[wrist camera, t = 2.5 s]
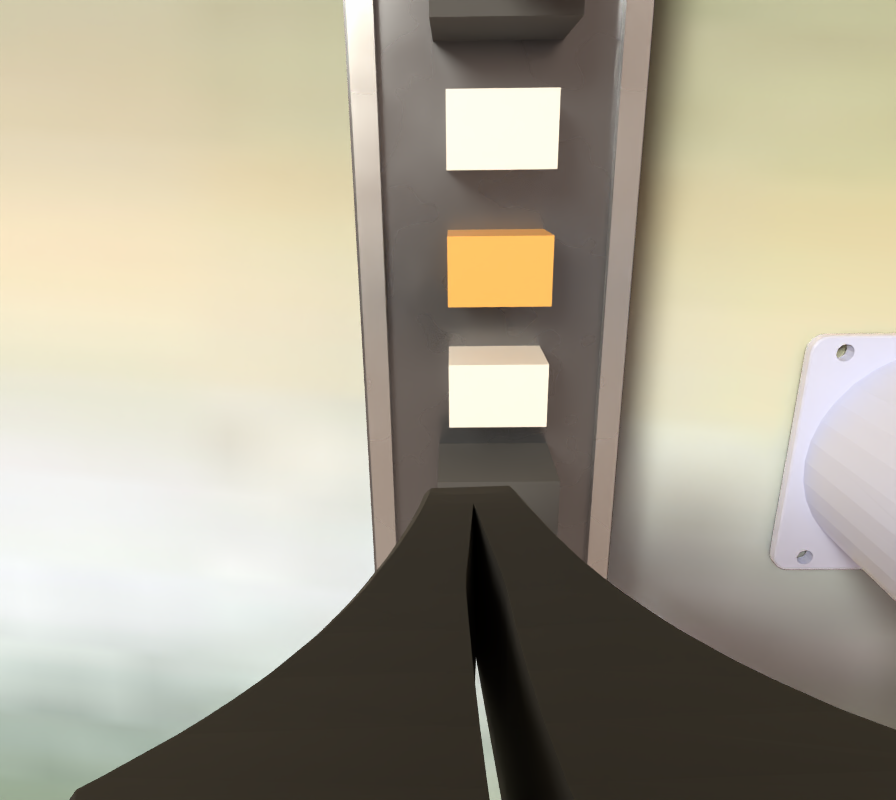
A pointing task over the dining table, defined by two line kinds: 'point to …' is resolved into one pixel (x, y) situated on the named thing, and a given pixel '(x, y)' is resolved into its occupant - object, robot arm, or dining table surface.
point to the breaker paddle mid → (500, 268)
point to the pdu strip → (495, 207)
